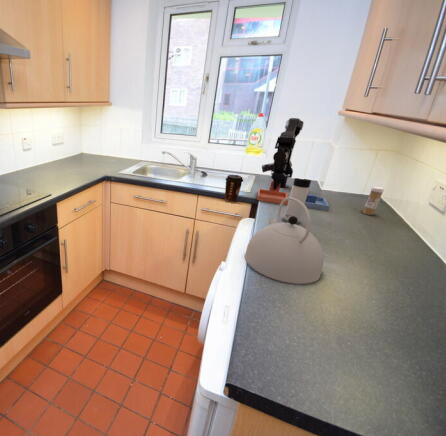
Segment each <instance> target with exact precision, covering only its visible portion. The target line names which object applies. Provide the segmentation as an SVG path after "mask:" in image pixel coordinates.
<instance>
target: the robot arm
mask: <svg viewBox="0 0 446 436" xmlns="http://www.w3.org/2000/svg"><path fill="white" fill-rule="evenodd" d="M303 128H304V120H301V119H300V118H299V117H298V118H297V117H289V118H288V119H287V120H286V122H285V125H284V129H285V131H283V132H281V133H280V135H279V136H278V137H277V139H276V142H275V145H274V149H277V151H276V152H274V153H273V156H272V160H273V162H271V163H270V162H269V163H266V164H261V171H262V173H266V172H271V173H270V179H272V181H273V189H274V190H276V188H277V187H278V186H279V185H280V183H281V185H280V188H287V182H288V179H291V178H293V175H294V170H293V163H292V162H291V160H292V159H291V158H292V156H293V151H294V148H295V145H296V142H297V140H296V138H297V137H298V136H299V135H300V133H301V131H302V130H303Z"/></svg>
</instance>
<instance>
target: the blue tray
mask: <svg viewBox="0 0 446 436" xmlns="http://www.w3.org/2000/svg"><path fill="white" fill-rule="evenodd" d="M304 205H305V206H306V207H307V209H315V210H322V211H328V210H329V207H330V205H329V203H328V202H327V200H326V197H323V196H317V199H316V202H315V203H309V202H305V204H304Z"/></svg>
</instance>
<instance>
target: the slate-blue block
mask: <svg viewBox="0 0 446 436" xmlns="http://www.w3.org/2000/svg"><path fill="white" fill-rule="evenodd" d="M317 197H318V196H317V194H316V193H309V192H308V194H307V198H306V201H305V202H309V203H315V202H316V199H317Z"/></svg>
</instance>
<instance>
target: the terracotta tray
mask: <svg viewBox="0 0 446 436" xmlns="http://www.w3.org/2000/svg"><path fill="white" fill-rule="evenodd" d="M287 197H289V195H288V192H283V191H279V192H276V191H270V189H263V188H258V191H257V197H256V201H258V202H265V203H266V202H267V203H272V204H277V205H280V204H281V202H282V201H283V200H284V199H285V198H287ZM288 201H289V200H286V201H285V202H284V204H283V206H285V205H286V206H287V205H288Z"/></svg>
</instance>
